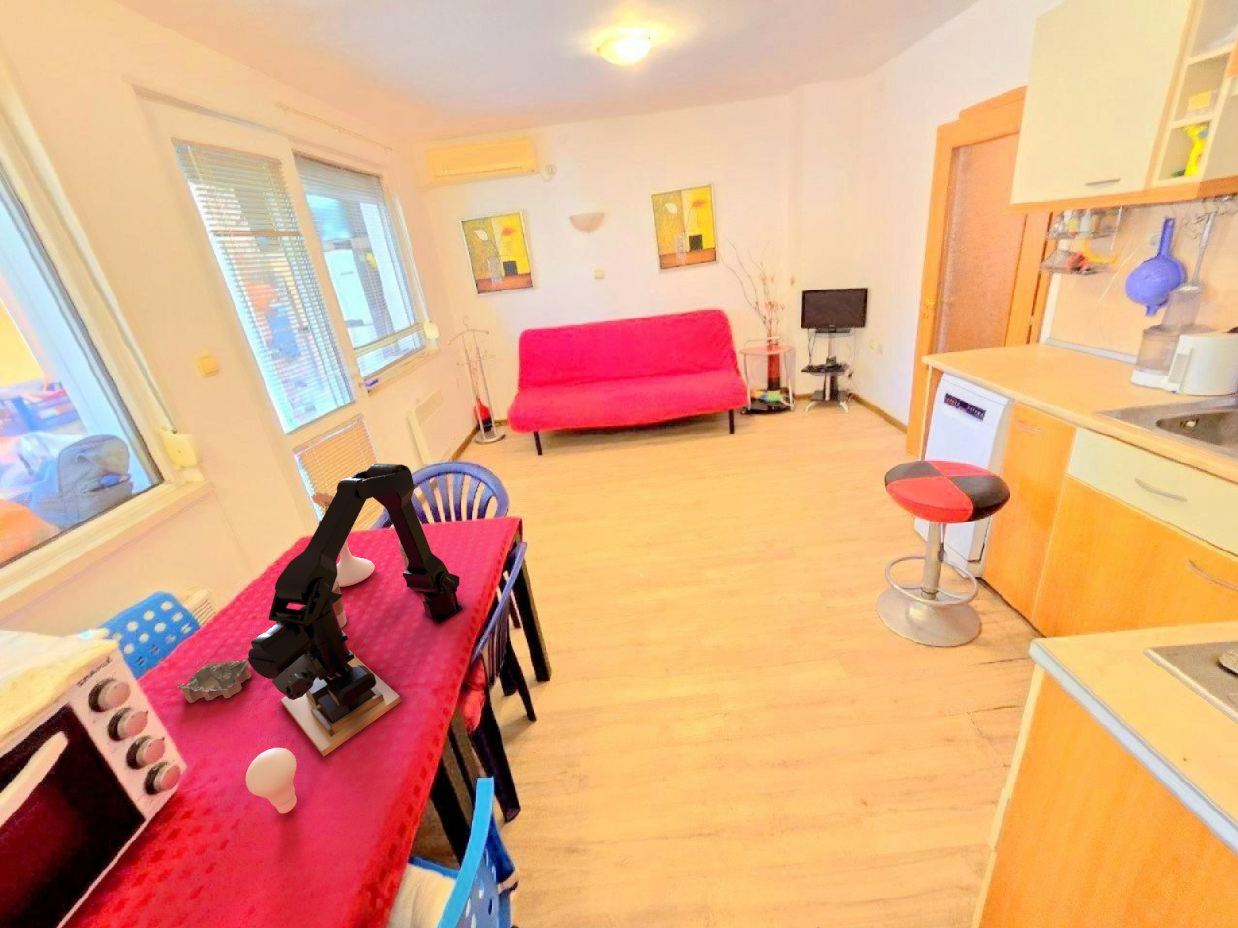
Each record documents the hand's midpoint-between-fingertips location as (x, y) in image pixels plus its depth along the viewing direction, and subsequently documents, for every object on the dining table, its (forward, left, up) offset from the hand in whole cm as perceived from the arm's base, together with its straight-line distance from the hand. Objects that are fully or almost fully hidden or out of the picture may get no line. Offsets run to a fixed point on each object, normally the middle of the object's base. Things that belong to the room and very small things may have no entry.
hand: (347, 703), depth 92 cm
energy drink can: (-30, -26, -2) cm, 39 cm away
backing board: (0, -4, -2) cm, 5 cm away
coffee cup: (-9, -30, -2) cm, 31 cm away
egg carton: (+13, -30, -2) cm, 32 cm away
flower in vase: (-21, -47, -2) cm, 51 cm away
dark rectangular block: (0, 0, -1) cm, 1 cm away
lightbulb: (+14, +10, -2) cm, 18 cm away
